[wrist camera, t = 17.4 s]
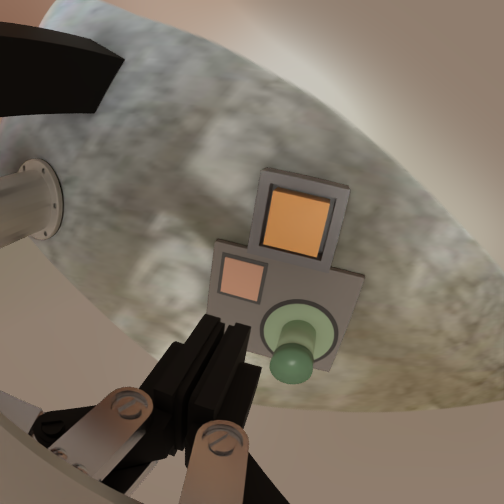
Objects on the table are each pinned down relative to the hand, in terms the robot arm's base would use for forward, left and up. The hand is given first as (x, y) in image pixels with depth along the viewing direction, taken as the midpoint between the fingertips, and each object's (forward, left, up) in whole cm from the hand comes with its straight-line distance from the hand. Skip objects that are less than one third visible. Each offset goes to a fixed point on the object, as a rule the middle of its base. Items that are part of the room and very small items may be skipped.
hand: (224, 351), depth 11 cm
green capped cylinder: (+3, -13, -21) cm, 25 cm away
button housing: (0, 0, -22) cm, 22 cm away
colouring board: (0, -11, -22) cm, 24 cm away
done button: (0, 0, -20) cm, 20 cm away
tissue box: (-28, +13, -22) cm, 38 cm away
